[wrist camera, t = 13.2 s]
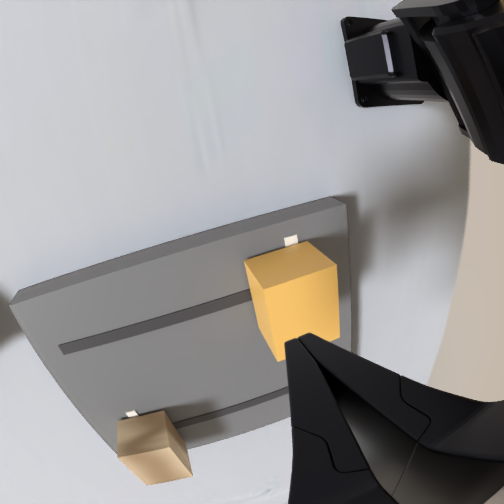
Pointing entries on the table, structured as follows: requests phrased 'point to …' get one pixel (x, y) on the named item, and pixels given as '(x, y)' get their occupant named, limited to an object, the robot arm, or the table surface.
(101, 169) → the table surface
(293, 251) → the block
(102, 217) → the table surface
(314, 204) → the fader panel
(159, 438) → the oak fader
